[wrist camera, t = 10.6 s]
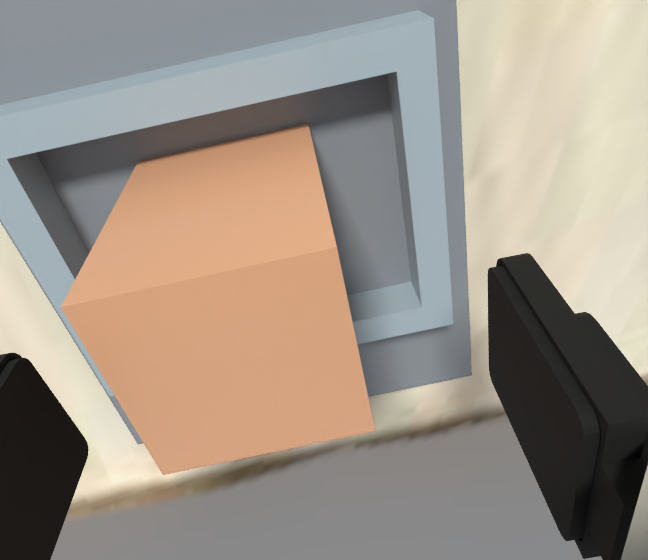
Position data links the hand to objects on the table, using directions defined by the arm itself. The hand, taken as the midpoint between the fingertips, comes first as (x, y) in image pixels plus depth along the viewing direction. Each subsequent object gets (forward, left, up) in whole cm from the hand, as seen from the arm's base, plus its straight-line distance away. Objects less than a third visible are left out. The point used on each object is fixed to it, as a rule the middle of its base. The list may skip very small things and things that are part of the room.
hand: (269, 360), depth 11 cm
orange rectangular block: (+1, 0, -7) cm, 7 cm away
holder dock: (+1, 0, -8) cm, 8 cm away
